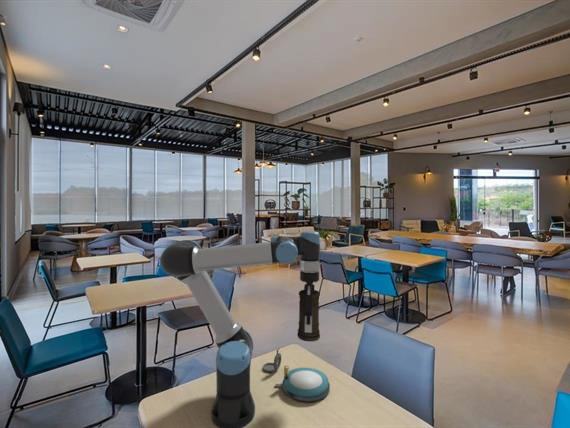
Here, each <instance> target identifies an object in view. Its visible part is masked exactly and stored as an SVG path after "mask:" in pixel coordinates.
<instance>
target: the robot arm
mask: <svg viewBox="0 0 570 428" xmlns="http://www.w3.org/2000/svg"><path fill="white" fill-rule="evenodd" d="M320 236H321V235H320V233H319V232H318V231H312V230H310V231H309V230H307V231H301V232H300V235H299V236H283V235H282V236H280V235H277V236H271V237H270V241H267V242H260V243H249V244H239V245H228V246H216V247H209V248H208V247H206V248H202V247H201V245H200V244H198V243H197V242H196V241H194V240H191V239H190V240H189V239H183V240H180V241H177V242H176V243H173V244H171V245H169V246H167V247H166V248H165V249H164V250H163V252H162V253H161V255H160V258H159V261H160V262H159V263H160V266H161V269H162V271H163V272H164V273H165V274H167V275H168V276H171V277H175V278H177V279H178V280H179V282H182V283H185V284H186V285H187V287H188V289H189V290H190V292H191V294H192V296H193V298H194V299H195V301H196V303H197V305H198V306H199V308H200V310H201V312H202V313H203V314H204V316H205V318H206V320H207V322H208V324H209V325H210V327H211V329H212V331H213V332H214V334H215V339H214V342H215V344H216V346H217V348H218V350H217V352H216V356H215V367H216V373H215V374H216V394H215V396H214V397H215V398H214V400H213V404H212V407H211V420H212V423H213V424H214V425H215V426H217V427H220V428H242V427H244V426H246V425H247V424H249V423H250V422H251V421H252V420H253V419H254V417H255V414H256V403H255V401H254V398H253V395H252V392H251V364H252V356H253V352H254V351H253V350H254V341H253V337H252V335H251V333H249V331H248V330H246V329H244V327H243V326H242V324H241V323H237V322H236V321H235V320H234V317H233V316H232V314H231V312H230V311H229V309H228V307H227V305H226V304H225V302H224V300H223V297H222V296H221V295H220V293H219V291H218V289H217V288H216V286H215V284H214V282H213V281H212V279H211V277H210V276H209V274H208V272H207V271H210V270H212V271H213V270H222V269H223V270H224V269H230V268H231V269H232V268H241V267H250V266H259V265H269V264H271V265H272V264H283V265H289V264H290V265H291V264H292V263H294V262H295V261H296V260H297V258H298V257H299V256H300V261H299V263H300V264H299V269H300V271H299V272H300V273H299V276H300V277H299V281H301V282H304V283H305V284H304V287H303V290H305V294H306V299H305V314H303V316H305V332H309V333H312V294H314V290H315V284H314V283H317V282H319V281H320V272H319V270H320V266H321V264H322V263H321V262H320V254H321V253H320V252H321V247H320V246H321V241H320Z"/></svg>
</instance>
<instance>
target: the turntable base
mask: <svg viewBox="0 0 570 428" xmlns="http://www.w3.org/2000/svg"><path fill="white" fill-rule="evenodd" d="M275 387H279V388H280V387H281V388H282V393H284V395H285V396H286V397H287V398H289V399H290V400H292V401H295V402H298V403H301V404H302V403H305V404H309V403H311V404H313V403H317V402H321V401H323V400H324V399H325V398H327V397H328V396H329V394H330V390H331V388H330V387H331V386H330V381H328V389H327V390H326V391H325V392H324V393H323V394H321V395H319V396H315V397H300V396H296V395H294V394H292V393H290V392H288V391H287V390H286V388H285V387H284V379H283V380H282V382H279V381H278V382H277V381H276V382H275Z"/></svg>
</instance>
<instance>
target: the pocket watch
mask: <svg viewBox="0 0 570 428" xmlns="http://www.w3.org/2000/svg"><path fill="white" fill-rule="evenodd" d="M279 350H280V347H278V348H277V350H276V355H274V356H275V357H274V359H273V362H267V363H265V364H264V363H263V365H262V369H263V371H265V372H269V373H272V372H273V373H274V372H276V371H277V370H279V368H281V367H280V366H281V364H282V353H280V352H279Z"/></svg>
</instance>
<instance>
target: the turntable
mask: <svg viewBox="0 0 570 428" xmlns="http://www.w3.org/2000/svg"><path fill="white" fill-rule="evenodd" d="M283 380H284V387H285V388H286V390H287V391H288V392H290V393H292V394H294V395H296V396H300V397H315V396H319V395H321V394H323V393H324V392H325V391H326V390H327V389H328V382H329V379H328V376H327V375H326V374H325V373H324V372H323V371H321V370H318V369H315V368H313V367H298V368H297V367H296V368H294V369H290V370H289V366H288V365H284V366H283Z"/></svg>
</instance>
